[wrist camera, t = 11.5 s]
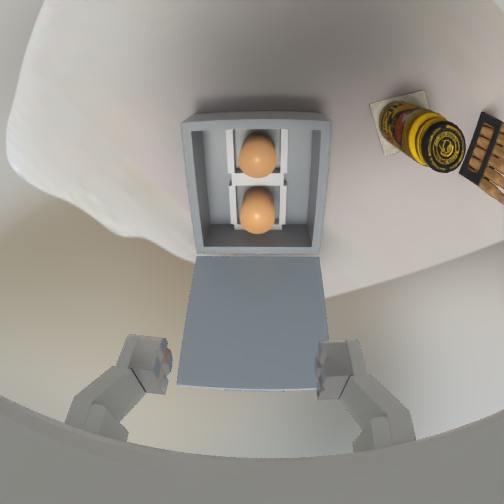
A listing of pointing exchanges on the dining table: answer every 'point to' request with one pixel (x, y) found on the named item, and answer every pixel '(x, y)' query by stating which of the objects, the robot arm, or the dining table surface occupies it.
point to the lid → (253, 324)
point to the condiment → (418, 132)
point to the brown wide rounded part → (257, 155)
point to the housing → (257, 180)
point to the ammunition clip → (486, 156)
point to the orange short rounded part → (257, 210)
